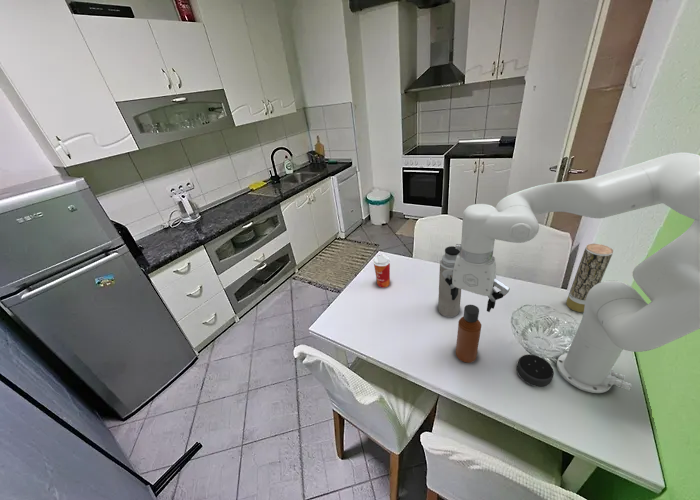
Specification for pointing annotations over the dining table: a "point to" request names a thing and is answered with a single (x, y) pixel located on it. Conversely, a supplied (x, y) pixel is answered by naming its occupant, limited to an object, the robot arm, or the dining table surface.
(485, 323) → the dining table surface
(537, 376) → the smart speaker
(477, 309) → the cap
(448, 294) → the thermos bottle
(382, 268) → the paper cup
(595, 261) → the paper tube
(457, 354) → the sauce bottle
